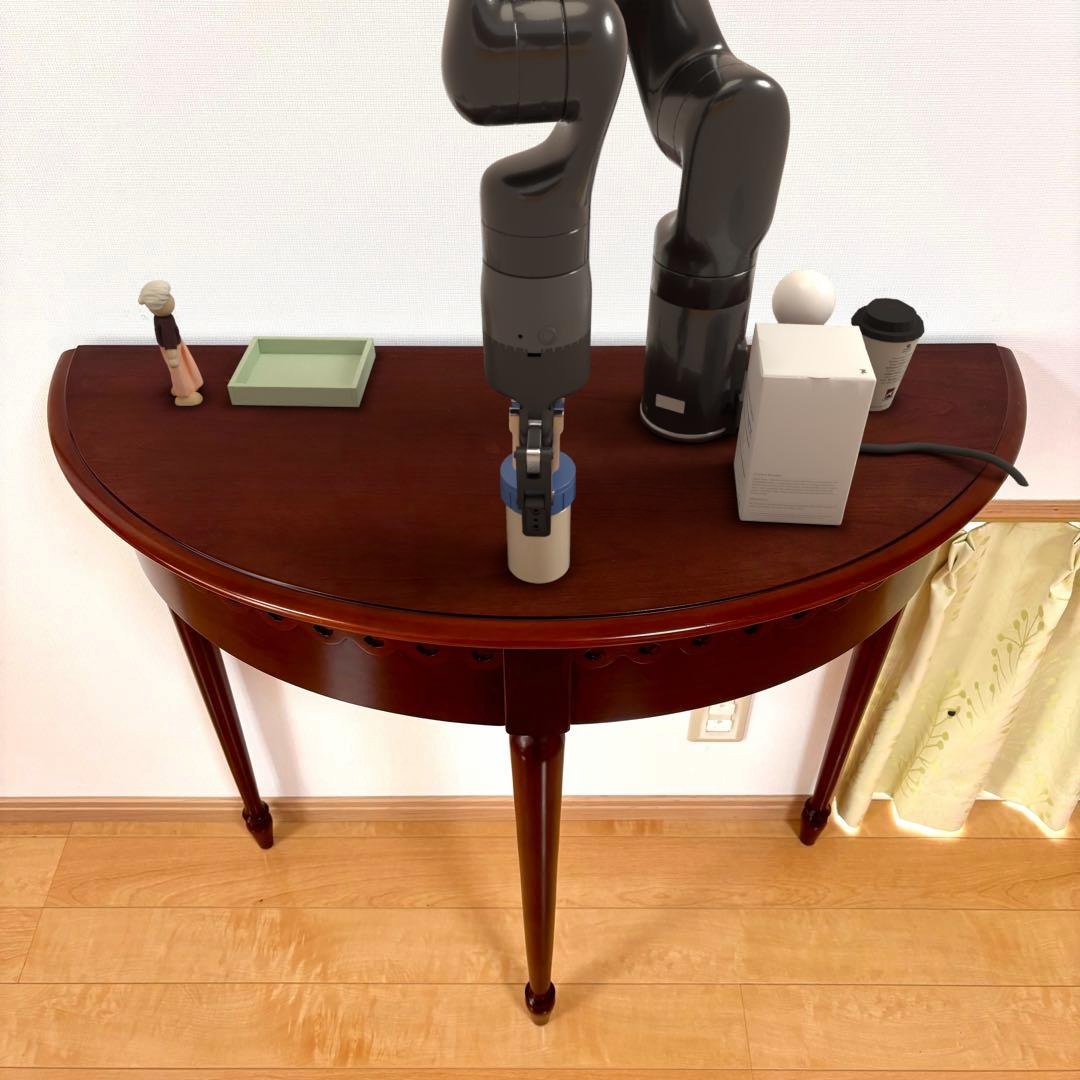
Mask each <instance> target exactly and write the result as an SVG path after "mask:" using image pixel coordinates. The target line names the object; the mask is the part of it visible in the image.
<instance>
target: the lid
mask: <svg viewBox="0 0 1080 1080" xmlns="http://www.w3.org/2000/svg"><path fill="white" fill-rule="evenodd" d="M551 452H553V449H552V448H551ZM499 470H500V471H499V475H500V480H499V484H500V485H499V487H500V498H501V500H502V501H503V503H504V504H505V506H506V505H507V506H508V507H509V508H510V509H512V510H513V511H515V512H517V513H520V514H522V510H518V505H516V498H517V479H516V470H515V469H514V468H513V452H512V453H511V454H509V455H508V456H507V457H506V458H504V459H503V461H502V463H501V465H500V469H499ZM576 473H577V469H576V464H575V463H574V460H573V459H572V458H571V457H570V456H569V455H567V454H566V453H564V452H562V451H561V450H560V463H559V469H558V470H557V471H556V472H554V473H553V481H552V490H554V497H552V499H554V505H553V506H551V515H553V514H556V513H559V512H561V511H563V510H564V509H566V508H567V507H568V506H569V505H570V504H571V505H572V503H573V501H574V500H575V499H576V478H577V477H576Z"/></svg>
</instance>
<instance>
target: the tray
mask: <svg viewBox="0 0 1080 1080" xmlns="http://www.w3.org/2000/svg"><path fill="white" fill-rule="evenodd" d="M376 356H377V355H376V349H375V341H374V338H373V337H352V336H351V337H346V336H345V337H344V336H343V337H342V336H341V337H339V336H338V337H337V336H277V335H276V336H275V335H274V336H271V335H260V336H259V335H253V336H252V339H251V340H250V342H249V344H248V346H247V348H246V350H245V351H244V354H243V356H242V357H241V359H240V361H239V363H238V365H237V367H236V369H235V371H234V372H233V375H232V376H231V379H230V380H229V382H228V384H227V386H226V387H227V391H228V394H229V398H230V402H231V405H232V406H271V407H272V406H275V407H276V406H277V407H278V406H279V407H281V406H282V407H331V408H333V407H335V408H338V407H339V408H359V407H360V405H361V401H362V399H363V396H364V392H365V389H366V386H367V383H368V380H369V377H370V374H371V371H372V368H373V365H374V362H375V359H376Z"/></svg>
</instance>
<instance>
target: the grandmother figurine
mask: <svg viewBox="0 0 1080 1080" xmlns="http://www.w3.org/2000/svg"><path fill="white" fill-rule="evenodd" d="M171 290H172V288H171V284H170V282H169V281H166V280H164V279H163V280H162V279H155V280H150V281H148V282H146V283H145V284H144V285H143V287H142V288H141V290H140V292H139V293H140V294H139V295H138V298H137V303H138V305H141V306H143V305H144V306H145V308H147V309H148V310H149V312H150V313H151V314H153V327H154V336H155V339H156V342H157V343H156V344H157V345H158V346H159V349H160V353H161V355H162V357H163V360H164V361H165V364H166V365H167V368H168V370H169V373H170V379H171V383H172V387H171V390H170V392H171V394H172V395H173V396H176V397H175V399H174V403H175V405H176V406H178V407H179V406H180V407H194V406H198V405H200V404H201V403H202V402H203V396H202V395H201V393H199V392H197V391H198V390H199V388H201V387H202V386H203V384H204V379H203V377H202V375H201V373H200V369H199V368H198V365H197V363H196V362H195V360H194V359H195V358H194V357H193V356H192V354H191V352H190V350H189V348H188V346H187V344H186V343H185V342H184V340H183V339H182V336H181V334H180V329H179V326H178V325H177V322H176V319H175V317H174V314H172V313H173V312H174V310H175V308H176V302H175V298H174V296H173V295H172V294H171V293H170V292H171Z"/></svg>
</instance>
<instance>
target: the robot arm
mask: <svg viewBox="0 0 1080 1080" xmlns="http://www.w3.org/2000/svg"><path fill="white" fill-rule="evenodd" d="M447 6H448V7H447V12H446V17H445V23H444V28H443V35H442V43H441V51H440V52H441V53H440V72H441V73H440V74H441V81H442V85H443V88H444V91H445V94H446V96H447V99H448V100H449V102H450V104H451V106H452V107H453V108H454V110H455V111H456V113H457V114H458V115H459V116H460V117H461V118H462V119H463V120H465V121H466V122H467V123H469V124H470V125H473V126H477V127H485V128H487V127H505V126H506V127H507V126H514V125H515V126H519V125H520V126H521V125H534V124H535V125H536V124H550V123H555V124H554V126H553V129H552V130H551V132H550V133H549V134H548V136H547V137H546V139H544V140H543V141H542V142H540V143H538V144H536V145H534V146H532V147H529V148H528V149H525V150H522V151H518V152H517V153H513V154H509V155H507V156H504V157H502V158H500V159H497V160H496V161H494V162H493V163H491V164H490V165H488V166H487V167H486V168H485V170H484V172H483V173H482V175H481V178H480V182H479V215H480V232H481V250H482V252H481V253H482V257H481V259H482V260H481V263H482V264H481V275H480V285H479V286H480V290H479V292H480V293H479V295H480V296H479V297H480V312H481V313H480V314H481V331H482V332H481V333H482V348H483V349H482V350H483V351H482V354H483V373H484V377H485V380H486V382H487V384H488V385H489V386H490V388H491V389H492V390H494V391H495V392H497V393H498V394H499V395H501V396H503V397H505V398H509V399H510V400H511V407H509V411H508V412H509V413H508V420H509V421H508V428H509V431H510V433H511V434H512V453H513V468H514V469H515V470H516V479H517V498H516V505H518V510H522V533H523V534H524V535H525V536H528V537H547V536H549V535H550V534H551V506H553V505H554V499H552V497H554V490H552V481H553V473H554V472H556V471H557V470H558V469H559V463H560V451H561V434H562V433H563V431H564V425H565V424H564V423H565V422H564V420H565V419H564V418H565V414H564V413H565V399H566V398H568V397H570V396H572V395H574V394H576V393H577V392H578V391H580V390H581V389H582V388H583V387H584V386H585V384H586V383H587V381H588V379H589V377H590V371H591V348H592V347H591V345H592V344H591V343H592V317H593V316H592V312H593V310H592V309H593V279H592V272H591V263H590V261H591V260H590V259H591V257H590V254H591V225H592V224H591V223H592V216H591V215H592V198H593V190H594V186H595V180H596V175H597V170H598V166H599V162H600V159H601V154H602V150H603V147H604V144H605V140H606V137H607V133H608V130H609V127H610V125H611V122H612V119H613V115H614V112H615V109H616V106H617V103H618V100H619V96H620V94H621V90H622V88H623V87H622V86H623V83H624V79H625V75H626V68H627V63H628V62H629V64H630V67H631V71H632V75H633V78H634V81H635V86H636V89H637V93H638V95H639V99H640V103H641V106H642V110H643V114H644V117H645V121H646V123H647V126H648V129H649V132H650V135H651V137H652V139H653V141H654V143H655V145H656V146H657V148H658V149H659V150H660V152H661V153H662V154H663V155H664V156H665V157H666V159H667V160H668V161H670V162H671V163H672V164H674V166H676V167H678V168H679V169H680V170H681V178H680V187H679V194H678V200H677V201H678V202H677V207H676V209H673V210H671V211H668V212H667V213H665V214H664V215H663V216H662V217H660V219H658V221H657V222H656V225H655V229H654V232H653V234H654V235H653V245H652V255H651V256H652V257H651V259H652V260H651V270H650V284H649V297H648V312H647V324H646V337H645V350H644V365H643V377H642V389H641V390H642V392H641V397H640V398H641V399H640V405H639V417H640V421H641V423H642V425H643V426H644V427H645V428H646V429H647V430H648V431H650V432H651V433H652V434H654V435H656V436H658V437H661V438H663V439H666V440H669V441H672V442H677V443H687V444H688V443H689V444H697V443H706V442H710V441H712V440H713V441H714V440H716V439H719V438H721V437H723V436H724V435H725V436H726V435H735V434H736V433H737V428H739V427H740V420H741V414H742V407H743V401H744V394H745V387H746V380H747V373H748V370H747V369H746V368H747V364H748V358H749V357H748V356H749V344H748V341H747V337H746V335H747V328H748V324H749V323H748V322H749V316H750V315H749V314H750V308H751V302H752V295H753V289H754V282H755V275H756V269H757V261H758V257H759V252H760V247H761V245H762V243H763V241H764V240H765V238H766V236H767V235H768V233H769V231H770V228H771V226H772V223H773V220H774V216H775V213H776V208H777V204H778V198H779V193H780V188H781V184H782V179H783V174H784V170H785V164H786V160H787V155H788V149H789V143H790V135H791V108H790V103H789V99H788V96H787V94H786V92H785V90H784V88H783V87H782V85H781V84H780V83H779V82H778V81H777V80H776V79H775V78H773V77H772V76H771V75H769V74H767V73H766V72H764V71H762V70H760V69H758V68H756V67H755V66H753V65H751V64H750V63H747V62H746V61H743V60H742V59H740V58H738V57H737V56H736V54H734V53H733V52H732V50H731V48H730V46H729V45H728V42H727V41H726V39H725V36H724V34H723V33H722V30H721V28H720V26H719V24H718V21H717V19H716V16H715V13H714V10H713V7H712V5H711V2H710V0H448V5H447ZM551 448H552V449H553V452H551ZM915 451H917V452H918V451H921V452H922V451H923V452H930V453H931V452H932V453H938V454H944V455H945V454H946V455H954V456H959V457H967V458H971V459H976V460H980V461H983V462H986V463H989V464H992V465H994V466H996V467H997V468H999V469H1001V470H1003V471H1004V472H1005V473H1007V474H1008V475H1009V476H1010V477H1011V478H1012V479H1013V480H1014V481H1015V482H1016V483H1017V485H1019V486H1021V487H1024V488H1026V487H1029V486H1030V484H1029V482H1028V481H1027V479H1026V477H1025V476H1024V475H1023V474H1022V473H1021V472H1020V471H1019V469H1017V468H1016V467H1015V466H1014V465H1013V464H1011V463H1010V462H1008V461H1007V460H1006V459H1003V458H1002V457H1000V456H997V455H995V454H992V453H989V452H986V451H983V450H978V449H974V448H969V447H961V446H954V445H947V444H941V443H934V442H933V443H932V442H924V441H923V442H922V441H921V442H920V441H914V442H913V441H912V442H902V443H892V444H890V443H889V444H878V443H865V442H863V443H862V442H861V445H860V449H859V452H862V453H863V452H864V453H877V454H879V453H880V454H894V453H895V454H896V453H905V452H915ZM956 713H957V710H948V711H947V715H948V716H949V717H955V716H956Z"/></svg>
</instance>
